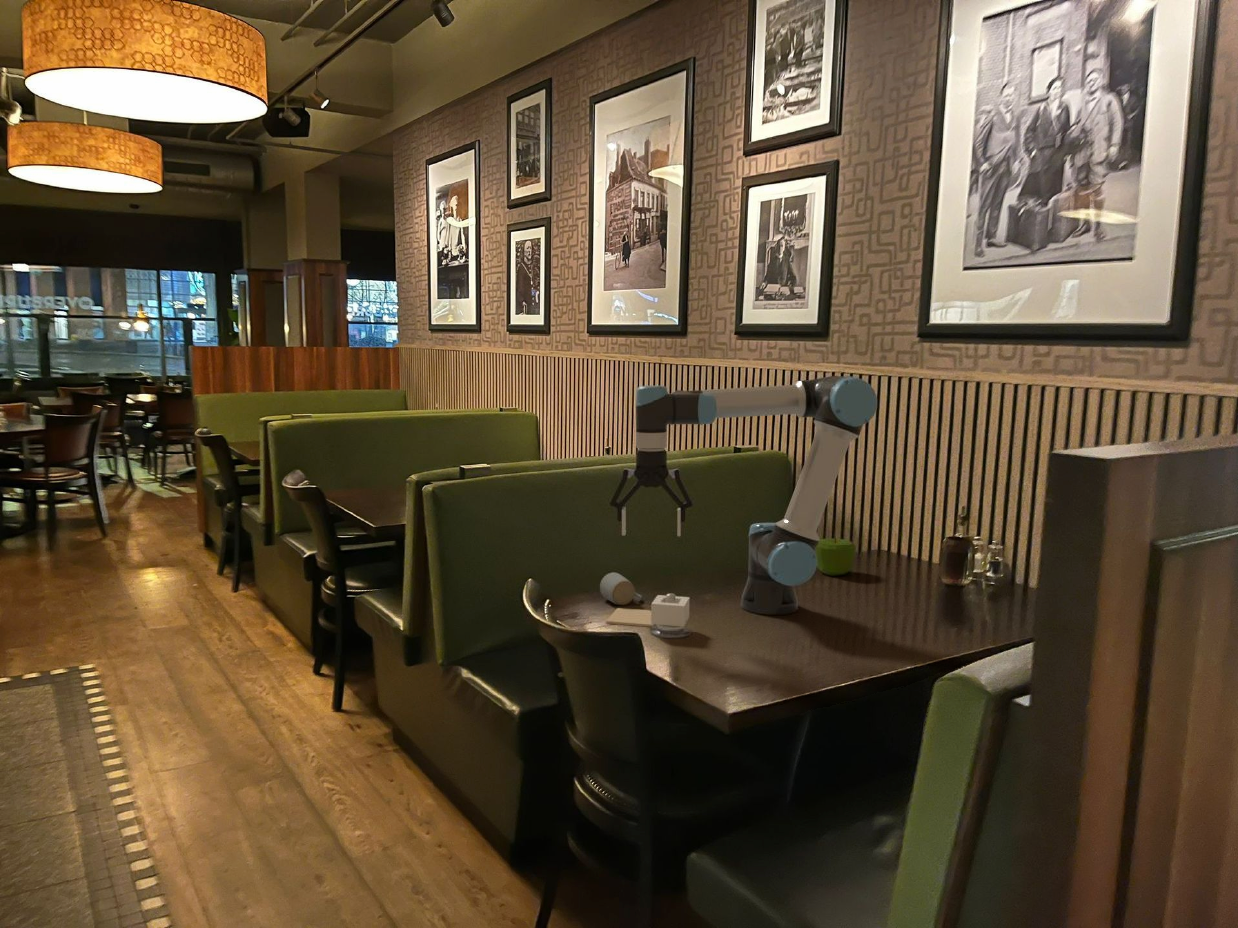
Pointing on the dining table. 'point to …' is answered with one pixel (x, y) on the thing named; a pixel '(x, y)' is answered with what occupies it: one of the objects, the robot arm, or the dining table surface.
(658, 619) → the white hollow square block
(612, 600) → the ceramic mug
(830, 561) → the apple
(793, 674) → the dining table surface
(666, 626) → the stand
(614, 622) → the mat
